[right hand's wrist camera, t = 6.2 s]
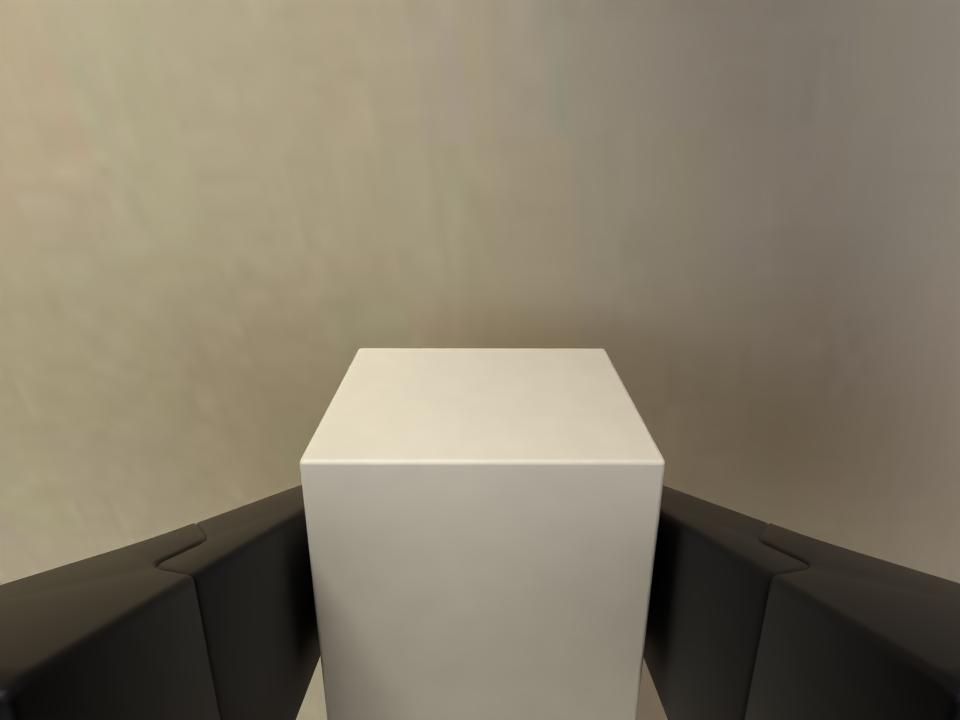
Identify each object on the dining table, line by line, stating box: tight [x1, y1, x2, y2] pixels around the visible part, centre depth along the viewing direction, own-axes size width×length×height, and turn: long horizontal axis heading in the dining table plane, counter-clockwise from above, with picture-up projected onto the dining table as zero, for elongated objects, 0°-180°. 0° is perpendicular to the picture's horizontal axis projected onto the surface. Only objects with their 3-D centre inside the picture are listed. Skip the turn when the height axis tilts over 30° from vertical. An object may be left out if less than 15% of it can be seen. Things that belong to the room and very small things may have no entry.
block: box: [300, 348, 665, 720], centre depth 11 cm, size 4×5×4 cm
